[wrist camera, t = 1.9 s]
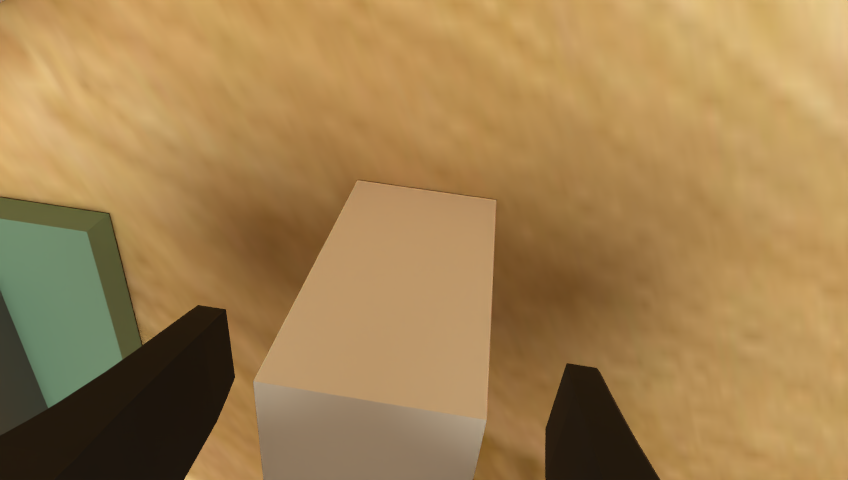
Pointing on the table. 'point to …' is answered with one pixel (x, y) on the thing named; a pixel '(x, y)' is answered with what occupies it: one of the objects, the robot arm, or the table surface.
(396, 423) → the keyed plug
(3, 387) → the header board
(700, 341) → the table surface
